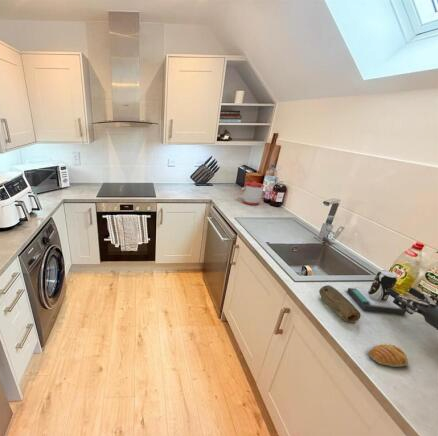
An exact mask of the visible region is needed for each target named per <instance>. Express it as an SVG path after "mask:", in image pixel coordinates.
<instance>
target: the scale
mask: <svg viewBox="0 0 438 436" xmlns="http://www.w3.org/2000/svg"><path fill="white" fill-rule="evenodd" d="M369 290H370V288H361V287H355V288H354V287H353V288H352V287H348V288H347V291H346V293H347V294H348V295H349V297H351V299H352V300H353V301H354V302H355V303H356V304H357V305H358V307H360V308H361V310H362V311H364V312H372V313H380V314H381V313H382V314H391V315H398V316H405V314H406V313H407V312H406V311H405V310H403V309H402V308H400V307H399V306H397V305H396V304H394V303H393V301H394V299H395V298H393V297H392V296H390V295H389V297H388V299H387V300H386V301H378V300H375V299H373V298H372V297H371V296H370V295H369V294H368V292H369Z"/></svg>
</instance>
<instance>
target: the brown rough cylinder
mask: <svg viewBox="0 0 438 436" xmlns="http://www.w3.org/2000/svg"><path fill="white" fill-rule="evenodd" d="M318 293H319V296H320V297H321V299H322V300H323V301H324V302H325V303H326V305H328V307H329V308H330V309H331V310H332V311H333V313H335V314H336V315H337V316H338V317H339V318H340V319H342V320H344V322H349V323H355V322H358V321H359V320H360V319H361V317H362V315H361V313H360V311H359V310H358V308H357V307H356V306H355V305H354V304H353V303H351V301H350V300H348V298H346V297H345V296H344V295H343V294H342V293H341V292H340V291H339V290H338V289H336V288H335V287H334V286H331V285H328V284H326V285H323V286H322V287H321V288H320V289H319V290H318Z"/></svg>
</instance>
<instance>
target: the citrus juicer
mask: <svg viewBox="0 0 438 436" xmlns="http://www.w3.org/2000/svg"><path fill="white" fill-rule="evenodd" d="M264 188H265V185H264V184H263V183H259V182H257V181H256V180H254V181H251V182H250V181H249V182H248V181H247V182H245V183H244V186H242V188H241V191H243V193H242V198H243V199H242V200H243V203H244V204H246V205H249V206H257V205H259V203H260V201H261V200H262V197H263V192H264Z"/></svg>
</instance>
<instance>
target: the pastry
mask: <svg viewBox="0 0 438 436" xmlns="http://www.w3.org/2000/svg"><path fill="white" fill-rule="evenodd" d="M368 355H369V357H370V358H371V359H372V360H373V361H375V362H376V363H378V364H379V365H383V366H388V367H391V368H394V367H395V368H398V367H405V366H408V365H410V363H409V359H408V357H407V353H406V352H405V351H404V350H403V349H401V348H400V347H398V346H396V345H394V344H379V345H375V346H374V347H373V348H372V349H371V350H369V354H368Z"/></svg>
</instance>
